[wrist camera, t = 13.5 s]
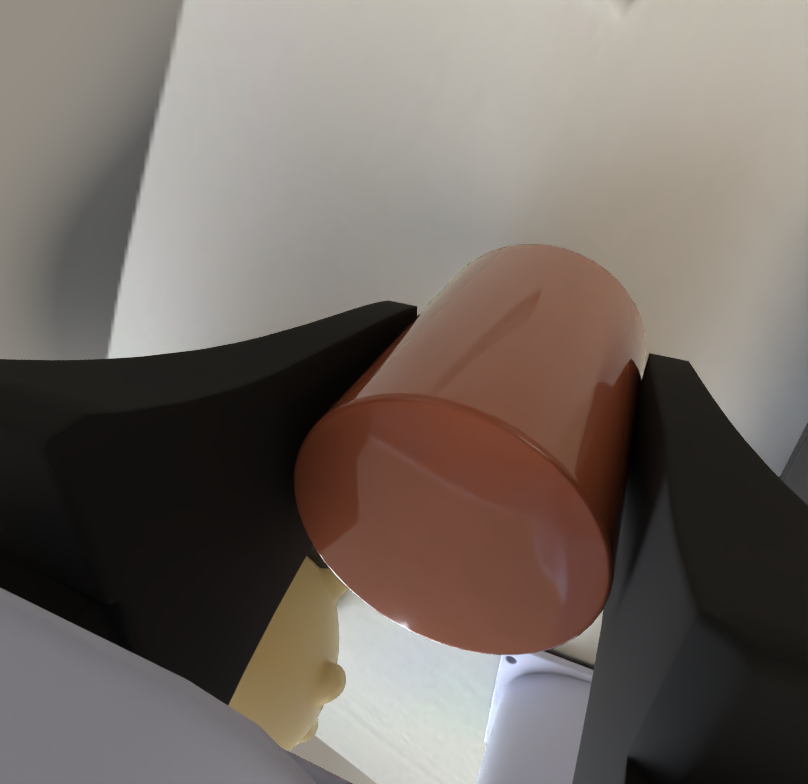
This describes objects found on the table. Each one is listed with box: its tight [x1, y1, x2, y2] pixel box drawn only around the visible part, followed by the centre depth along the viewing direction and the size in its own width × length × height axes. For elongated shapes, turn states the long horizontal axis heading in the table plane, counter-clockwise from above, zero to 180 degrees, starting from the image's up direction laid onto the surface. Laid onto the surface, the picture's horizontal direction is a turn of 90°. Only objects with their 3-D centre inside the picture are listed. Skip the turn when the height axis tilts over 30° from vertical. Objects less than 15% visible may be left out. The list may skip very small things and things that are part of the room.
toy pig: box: [228, 556, 348, 751], centre depth 28 cm, size 10×12×11 cm
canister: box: [293, 244, 646, 655], centre depth 9 cm, size 4×4×6 cm
